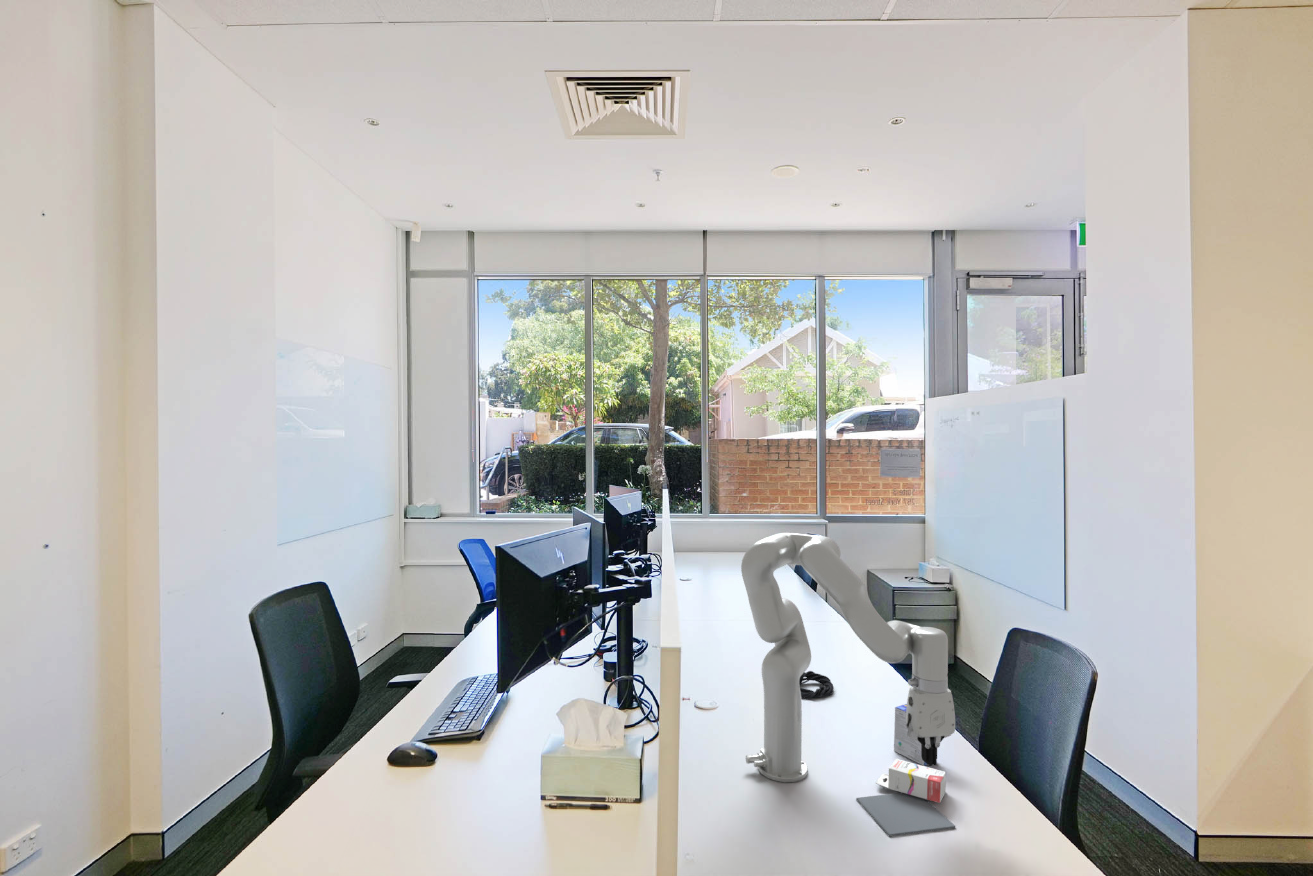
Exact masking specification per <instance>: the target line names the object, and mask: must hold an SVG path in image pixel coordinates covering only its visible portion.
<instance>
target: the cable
mask: <svg viewBox="0 0 1313 876" xmlns="http://www.w3.org/2000/svg"><path fill="white" fill-rule="evenodd" d="M809 681H813V682H814V681H815V682H817V683H819V684H821V685H820V686H819V687H818V688H816V690H815V691H814V690H812V689H808V688H805V687H800V691H801V698H802V699H805V700H809V699H816V698H820V697H828V696H830V695H832V694H833V692H834V685H833V683H832V681H831V679H830V678H829V677H828V676H826V675H824V674H821V673H816V672H814V671H812V670H809V671H807V672H806V671H805V672H804V673H803V674H802V675H801V677H800V680H799V685H803V684H806V683H808V682H809Z"/></svg>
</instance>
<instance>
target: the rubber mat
mask: <svg viewBox="0 0 1313 876" xmlns="http://www.w3.org/2000/svg"><path fill="white" fill-rule="evenodd" d="M855 799H856V802H857V803H858V804H859V805H860V806H861V807H862V808H863V809H864V810H865V811H866V813H867V814H868V815H869V816H870V817H871V818H872V819H873V820H874V821H875V823H876V824H877V825H878V826H879V827H880V828H881V829H882V831H883V832H885V833H886V835H887V836H888V837H897V836H906V835H914V834H919V833H920V834H921V833H928V832H937V831H942V830H943V831H944V830H951V829H956V824H954V823H953V822H952V821H951V820H950V819H948V817H946V816H945V815H944V814H943V813H942V812H941V811H940V810H939V809H938V808H937V807H935V806H934V805H933V803H931V802H930V800H927V799H924V798H920V797H916V796H913V795H909V794H906V793H902V792H896V793H889V794H888V793H887V794H878V795H872V796H871V795H869V796H862V797H856V798H855Z"/></svg>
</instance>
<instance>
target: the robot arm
mask: <svg viewBox="0 0 1313 876" xmlns="http://www.w3.org/2000/svg"><path fill="white" fill-rule="evenodd" d="M786 565H796V566H801V567H802V568H803V570H804V571H805V572H806V573H807V574H808V575H809V576H810V577H811V578H812V579H813V580H814V581H815V583H817V584H818V586H820V588H822V590H823V591H824V592H825V593H826V594H827V595H828V596H829V597H830V598H831V600H833V601H834V603H835V604H836V605H837V606H838V608H839V609H840V612H841V614H842V615H843V617H844V618H845V620H846V621H847V624H848V625H849V626H850V628H851V629H852V631H853V633H854V634H855V635H856V636H857V638H858V639H859V640H860V641H861V642H862V644H863V645H865V646H866V647H867V648H868V649H869V651H870V652H872V654H874V655H875V656H876V657H877V658H878V659H879V660H882V661H883V662H885V663H888V664H899V663H900V662H902V661H904V659H906V657H907V656H908V654H910V655H911V656H912V657H911V658H912V661H911V663H912V665H911V666H912V667H911V668H912V670H911V671H912V672H911V673H912V674H911V678H910V679H908V680H907V685H908V686H910V687H909V690H908V695H907V700H906V704H907V707H906V727H907V728H908V732H907V737H908V738H910V739H911V740H918V741H919V742H920V743H921V757H922V760H923V761H924V762H925V763H927V764H928V765H927V766H929V767H932V766H937V763H938V762H937V761H938V760H937V759H938V748H940V746H941V743H942V741H943V740H944V739H945V738H948V737H950V736H952V735H953V734H955V731H956V714H955V704H954V698H953V694H952V690H951V689H949V687H948V683H949V681H948V680H949V679H948V675H949V674H948V673H949V671H948V670H949V668H948V667H949V666H948V665H949V637H948V635H947V633H946V632H945V631H944V630H942V629H939V628H936V627H932V626H919V625H916V624H913V623H909V622H906V621H901V620H898V619H897V620H890V621H889V620H888V621H886V620H885V619H884V618H883V617H882V616H881V615H880V613H878V611H877V609H876V608H875V607H874V605H873V603H872V601H871V599H870V597H869V593H868V589H867V586H866V584H865V581H863V579H862V578H861V577H859V575H858V574H857V573H856V572H855V571H854V570H852V568H851V567H850V566H849V565H848V564H847V563H846V562H845V561H844V560H843V559H842V558H841V550H840V546H839V545H838V543H837V542H836V541H835V540H834V539H832V538H831V537H828V536H824V535H814V534H802V533H794V532H791V533H790V532H779V533H775V534H773V535H769V536H766V537H764V538H762V539H759V540H757V541H755V543H754V544H752V545H751V546H750V547H749V548H748V549H747V550H746V551H745V553H744V555H743V557H742V560H741V567H740V568H741V571H740V572H741V576H742V580H743V583H744V586H745V590H746V594H747V598H748V602H749V607H750V610H751V614H752V618H753V623H754V627H755V630H756V633H757V635H758V636H759V638H760V639H761V640H762V641H764V642H765V643H769V644H773V643H774V646H773V648H771V649H770V650H768V652H767V653H766V654H765V656H764V658H763V660H762V664H761V679H762V684H763V748H760V750H759V751H760V752H757V754H747V755H745V763H746V764H747V765H749V764H753V767H754V768H757V769H758V772H760V774H761V775H763V776H764V777H766V778H768V779H770V780H772V781H775V782H779V783H780V782H781V783H794V782H798V781H801V780H803V779H804V778H806V777H807V776H808V770H809V769H808V766H807V764H806V762H805V761H804V760H802V739H803V738H802V737H803V736H802V735H803V734H802V733H803V731H802V730H803V729H802V727H803V726H802V723H803V721H802V720H803V719H802V718H803V717H802V716H803V714H802V712H803V711H802V708H803V707H802V697H801V691H800V688H801V687H800V685H799V680H800V677H801V675H802V674H803V673H804V672H805V673H806V671H807V669H808V668H809V667H810V665H811V661H812V650H811V647H810V643H809V640H808V639H809V638H808V636H807V633H806V628H805V624H804V620H803V618H802V615H801V612H800V610H799V608H798V607H797V605H796V604H795V603H794V602H792V601H791V600H789V599H788V598H785V597H783V596H782V595H781V589H780V587H779V584H778V582H777V579H776V577H775V576H774V573H775V571H777V570H778V569H780V568H782V567H785V566H786Z"/></svg>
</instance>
